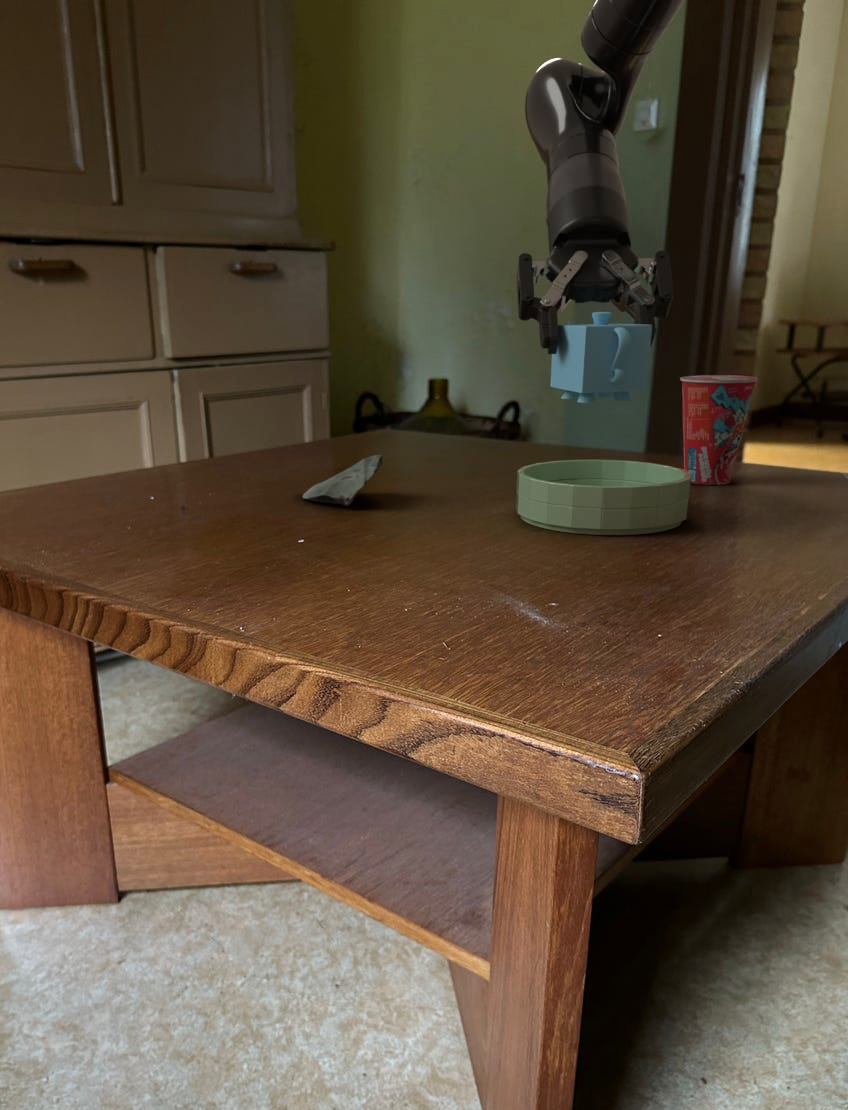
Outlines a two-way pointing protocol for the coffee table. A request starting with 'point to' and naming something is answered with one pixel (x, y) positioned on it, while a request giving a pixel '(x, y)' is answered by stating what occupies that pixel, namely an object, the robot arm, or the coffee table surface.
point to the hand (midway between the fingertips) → (598, 347)
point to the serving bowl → (603, 496)
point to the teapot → (601, 359)
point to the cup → (714, 424)
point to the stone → (345, 483)
